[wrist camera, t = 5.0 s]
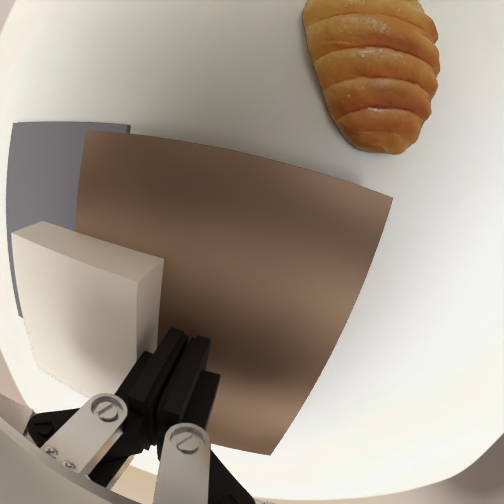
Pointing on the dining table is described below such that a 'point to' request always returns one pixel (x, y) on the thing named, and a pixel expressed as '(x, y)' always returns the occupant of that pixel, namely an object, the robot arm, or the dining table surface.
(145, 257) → the tile
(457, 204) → the dining table surface
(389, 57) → the pastry
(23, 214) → the mat
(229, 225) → the serving board
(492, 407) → the dining table surface
